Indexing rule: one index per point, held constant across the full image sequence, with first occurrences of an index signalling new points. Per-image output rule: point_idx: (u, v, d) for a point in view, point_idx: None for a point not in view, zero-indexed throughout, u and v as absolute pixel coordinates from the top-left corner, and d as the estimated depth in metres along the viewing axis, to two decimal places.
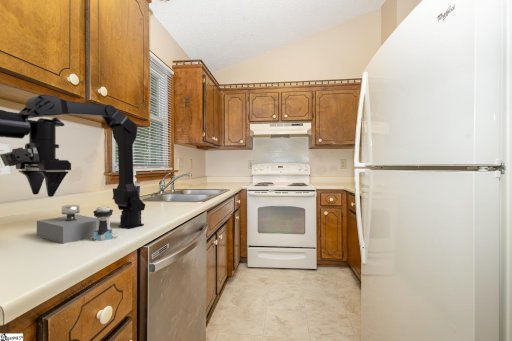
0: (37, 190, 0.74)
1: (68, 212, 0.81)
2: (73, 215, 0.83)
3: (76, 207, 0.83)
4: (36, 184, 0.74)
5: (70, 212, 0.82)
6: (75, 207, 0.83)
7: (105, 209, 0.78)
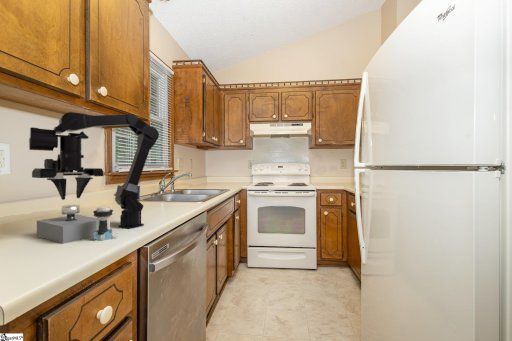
0: (78, 195, 0.85)
1: (68, 212, 0.81)
2: (73, 215, 0.83)
3: (76, 207, 0.83)
4: (78, 189, 0.85)
5: (70, 212, 0.82)
6: (75, 207, 0.83)
7: (105, 209, 0.78)
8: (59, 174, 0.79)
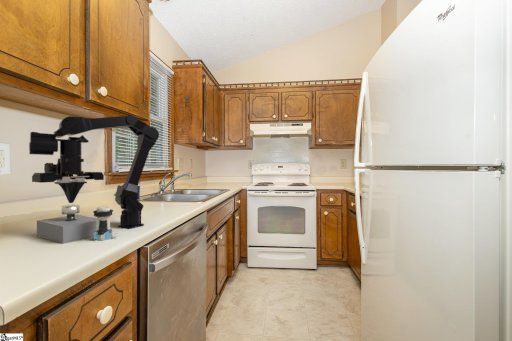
0: None
1: (68, 212, 0.81)
2: (73, 215, 0.83)
3: (76, 207, 0.83)
4: None
5: (70, 212, 0.82)
6: (75, 207, 0.83)
7: (105, 209, 0.78)
8: (66, 178, 0.80)
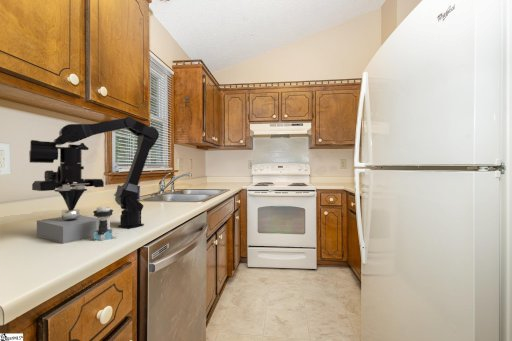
0: None
1: (68, 217, 0.81)
2: None
3: (76, 212, 0.83)
4: None
5: (70, 217, 0.82)
6: (75, 212, 0.83)
7: (105, 209, 0.78)
8: (66, 186, 0.80)
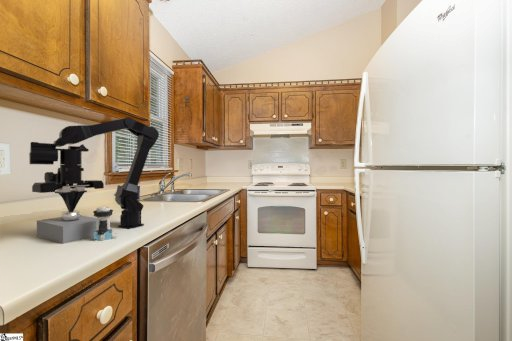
0: None
1: (68, 218, 0.81)
2: None
3: (76, 213, 0.83)
4: None
5: (70, 218, 0.82)
6: (75, 213, 0.83)
7: (105, 209, 0.78)
8: (66, 187, 0.80)
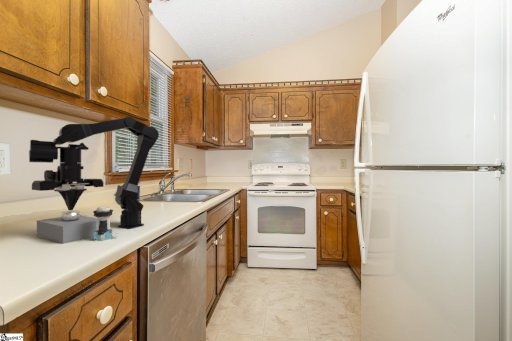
0: None
1: (68, 218, 0.81)
2: None
3: (76, 213, 0.83)
4: None
5: (70, 218, 0.82)
6: (75, 213, 0.83)
7: (105, 209, 0.78)
8: (66, 186, 0.80)
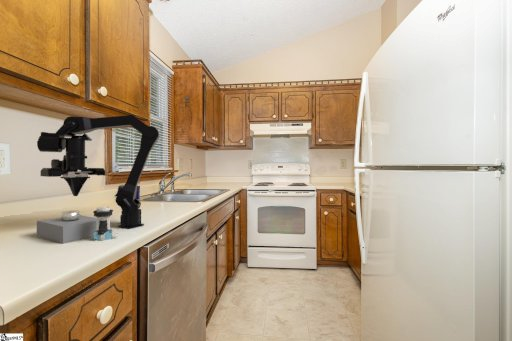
0: None
1: (68, 218, 0.81)
2: None
3: (76, 213, 0.83)
4: None
5: (70, 218, 0.82)
6: (75, 213, 0.83)
7: (105, 209, 0.78)
8: (71, 173, 0.88)
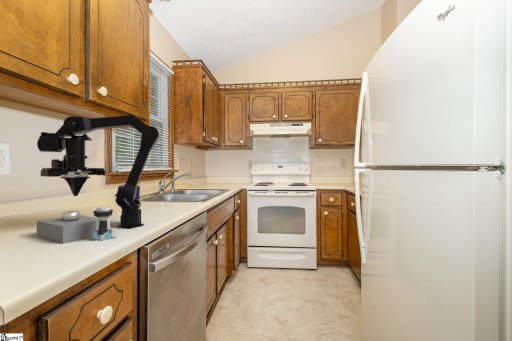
0: None
1: (68, 218, 0.81)
2: None
3: (76, 213, 0.83)
4: None
5: (70, 218, 0.82)
6: (75, 213, 0.83)
7: (105, 209, 0.78)
8: (71, 173, 0.88)
